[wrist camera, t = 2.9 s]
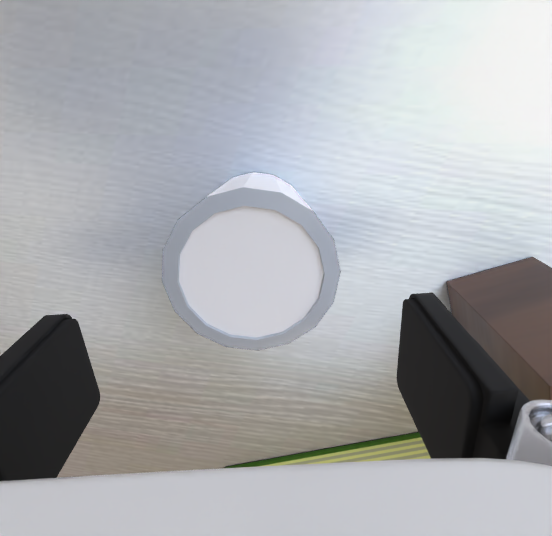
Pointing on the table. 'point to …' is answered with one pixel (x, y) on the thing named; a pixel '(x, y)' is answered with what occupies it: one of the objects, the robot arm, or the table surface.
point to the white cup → (251, 264)
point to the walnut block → (511, 320)
